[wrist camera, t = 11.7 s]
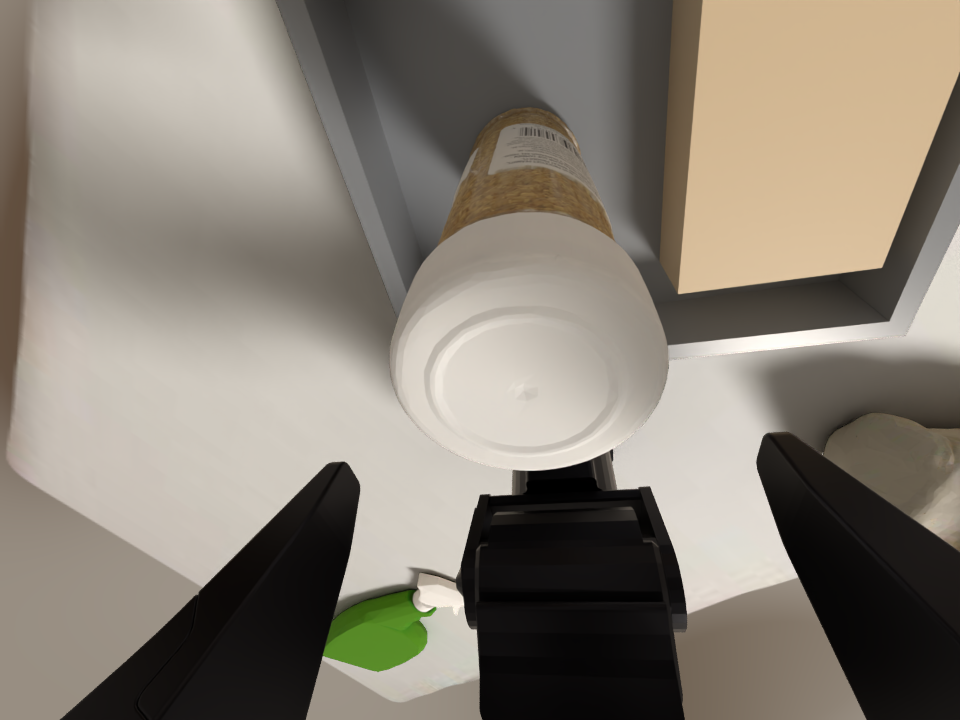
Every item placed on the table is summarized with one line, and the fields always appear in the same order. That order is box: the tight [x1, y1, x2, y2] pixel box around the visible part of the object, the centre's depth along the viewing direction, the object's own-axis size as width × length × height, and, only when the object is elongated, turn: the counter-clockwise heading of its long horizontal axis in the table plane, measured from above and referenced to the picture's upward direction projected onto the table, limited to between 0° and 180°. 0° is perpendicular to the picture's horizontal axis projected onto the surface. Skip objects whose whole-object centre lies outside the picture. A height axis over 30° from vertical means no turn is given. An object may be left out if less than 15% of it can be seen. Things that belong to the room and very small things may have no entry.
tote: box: [276, 0, 960, 360], centre depth 15 cm, size 16×20×4 cm
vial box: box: [659, 0, 960, 294], centre depth 14 cm, size 10×7×3 cm
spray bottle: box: [323, 573, 464, 672], centre depth 48 cm, size 3×11×25 cm
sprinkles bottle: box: [389, 107, 669, 471], centre depth 12 cm, size 5×5×13 cm
